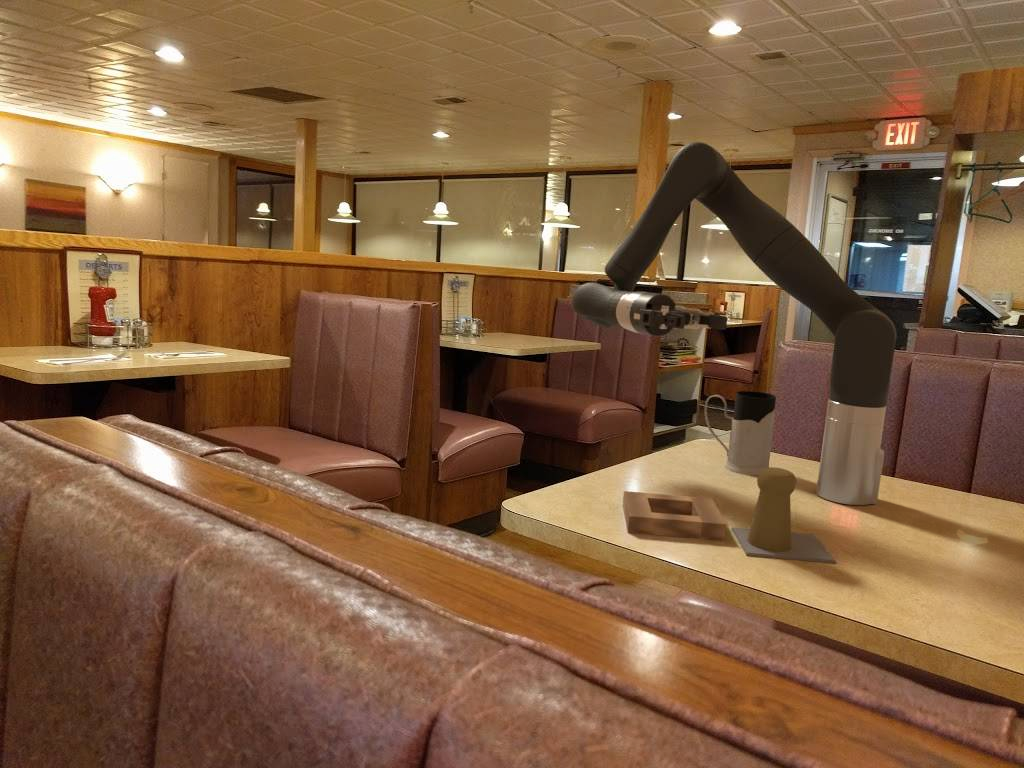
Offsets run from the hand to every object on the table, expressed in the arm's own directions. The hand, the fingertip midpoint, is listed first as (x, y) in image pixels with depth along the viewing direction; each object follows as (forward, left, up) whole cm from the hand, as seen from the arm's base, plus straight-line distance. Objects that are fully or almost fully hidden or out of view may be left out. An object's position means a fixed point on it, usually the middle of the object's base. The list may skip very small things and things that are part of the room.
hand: (704, 322), depth 122 cm
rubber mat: (-11, +17, -30) cm, 36 cm away
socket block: (+4, +11, -30) cm, 32 cm away
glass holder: (-13, -26, -30) cm, 42 cm away
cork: (-9, +18, -30) cm, 36 cm away
